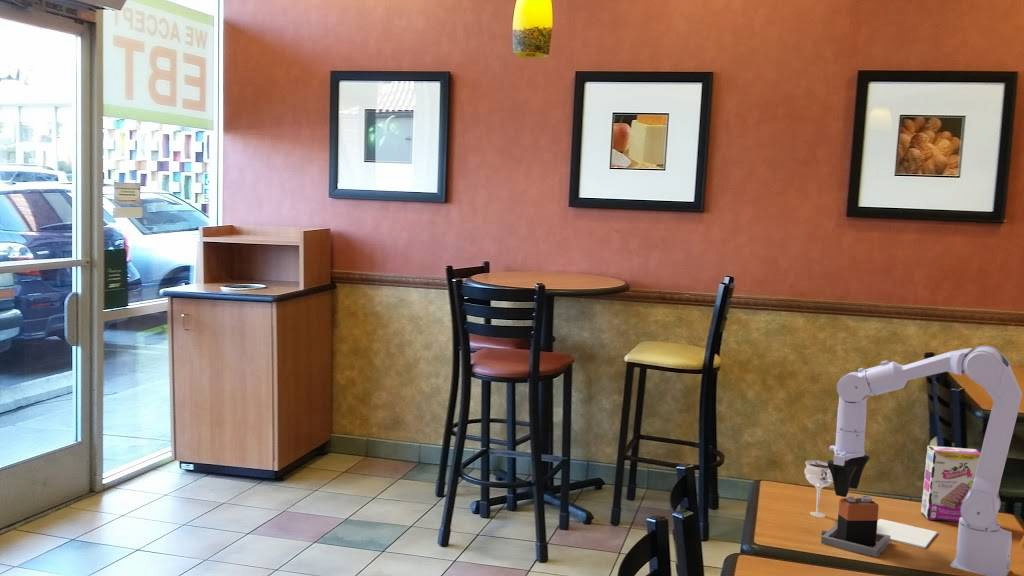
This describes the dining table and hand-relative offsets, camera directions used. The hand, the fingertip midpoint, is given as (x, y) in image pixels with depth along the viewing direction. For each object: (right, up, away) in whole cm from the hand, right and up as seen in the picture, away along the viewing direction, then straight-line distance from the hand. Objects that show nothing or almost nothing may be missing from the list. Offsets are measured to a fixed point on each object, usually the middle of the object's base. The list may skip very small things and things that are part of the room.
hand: (846, 491), depth 189 cm
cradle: (+1, -10, -3) cm, 11 cm away
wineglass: (-2, -9, +14) cm, 16 cm away
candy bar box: (+30, -10, +16) cm, 35 cm away
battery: (+1, -10, -3) cm, 11 cm away
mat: (+13, -10, +4) cm, 17 cm away
